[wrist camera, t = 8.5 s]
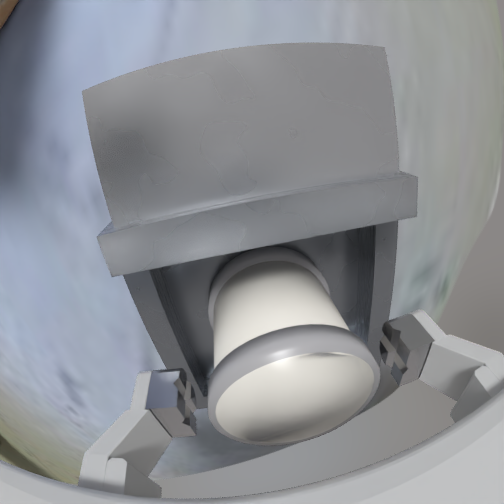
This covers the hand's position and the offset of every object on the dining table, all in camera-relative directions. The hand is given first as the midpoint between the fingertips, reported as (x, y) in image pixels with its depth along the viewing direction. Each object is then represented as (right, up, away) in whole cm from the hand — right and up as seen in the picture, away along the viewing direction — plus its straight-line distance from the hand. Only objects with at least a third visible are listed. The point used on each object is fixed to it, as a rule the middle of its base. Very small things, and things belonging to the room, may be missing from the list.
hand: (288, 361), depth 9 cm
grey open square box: (-1, +4, +3) cm, 5 cm away
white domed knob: (0, +1, +3) cm, 4 cm away
